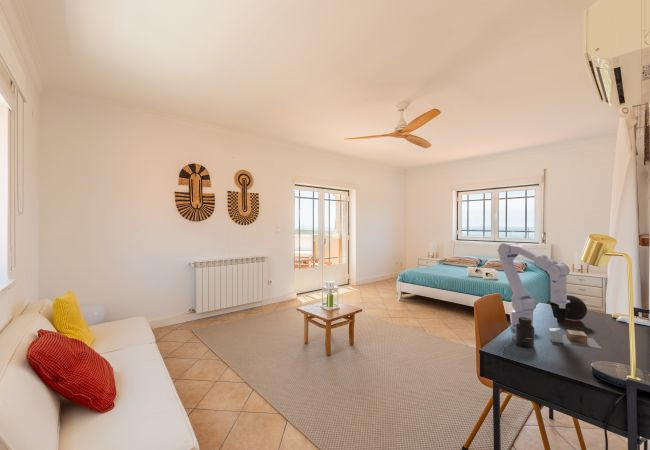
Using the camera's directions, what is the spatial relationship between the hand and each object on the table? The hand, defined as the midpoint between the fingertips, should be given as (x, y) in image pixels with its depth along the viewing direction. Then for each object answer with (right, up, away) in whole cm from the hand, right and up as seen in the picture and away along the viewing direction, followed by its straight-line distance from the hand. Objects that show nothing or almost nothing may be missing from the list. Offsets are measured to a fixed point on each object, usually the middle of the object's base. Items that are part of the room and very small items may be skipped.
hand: (558, 320), depth 135 cm
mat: (+8, -9, -1) cm, 12 cm away
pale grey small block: (-1, -9, 0) cm, 9 cm away
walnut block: (+8, -9, -1) cm, 12 cm away
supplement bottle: (-18, -10, -4) cm, 21 cm away
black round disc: (+23, -9, +22) cm, 33 cm away
